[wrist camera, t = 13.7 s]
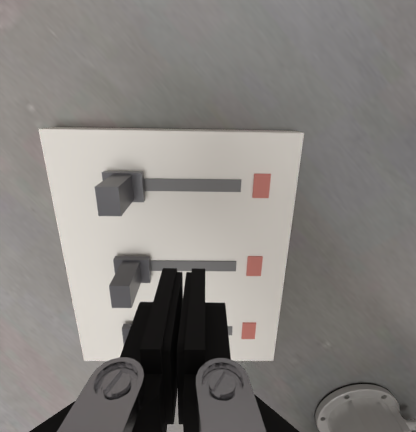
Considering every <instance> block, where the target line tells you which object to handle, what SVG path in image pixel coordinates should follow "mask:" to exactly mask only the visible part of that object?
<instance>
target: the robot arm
mask: <svg viewBox="0 0 416 432" xmlns="http://www.w3.org/2000/svg"><path fill="white" fill-rule="evenodd" d="M177 388H178V415H179V424H183V427H184V432H299V431H298V430H297V429H295V428H294V427H293V426H292V425H291V424H289V423H288V422H287V421H286V420H285V419H283V418H282V417H281V416H280V415H279V414H277V413H276V412H275V411H274V410H273V409H271V408H270V407H269V406H268V405H267V404H265V403H264V402H263V401H262V400H260V399H259V398H258V397H257V396H256V395H254V392H253V389H252V386H251V383H250V380H249V377H248V375H247V373H246V371H245V369H244V368H243V367H242V366H241V365H240V364H238V363H237V362H235V361H233V360H231V356H230V346H229V336H228V326H227V315H226V306H225V303H214V302H205V269H197V268H192V272H186V279H185V286H184V294H183V276H182V272H177V268H163V269H162V273H161V276H160V280H159V283H158V287H157V290H156V294H155V297H154V301H153V302H140V303H139V305H138V308H137V311H136V313H135V316H134V319H133V322H132V325H131V327H130V330H129V333H128V336H127V339H126V341H125V344H124V347H123V350H122V353H121V355H120V357H119V358H115V359H111V360H109V361H107V362H105V363H103V364H102V365H101V366H100V367H98V368H97V369H96V370H95V371H94V373H93V374H92V375H91V377H90V378H89V380H88V382H87V383H86V385H85V387H84V388H83V390H82V391H81V393H80V395H79V396H78V398H77V400H76V401H74V402H73V403H71V404H70V405H68V406H67V407H65V408H64V409H62V410H61V411H60V412H58V413H57V414H55V415H54V416H52V417H51V418H49V419H48V420H46V421H45V422H43V423H42V424H40V425H39V426H37V427H36V428H34V429H33V430H31V431H30V432H166V430H167V424H174V417H175V407H176V398H177ZM315 420H316V424H317V427H318V429H319V431H320V432H416V419H410V420H405V419H404V418H402V416H401V415H400V407H399V404H398V402H397V400H396V399H395V397H394V396H393V395H392V394H391V393H390V392H389V391H388V390H386V389H384V388H383V387H380V386H376V385H371V384H357V385H350V386H347V387H343V388H341V389H338V390H336V391H334V392H333V393H331V394H329V395H328V396H327V397H326V398H324V400H323V401H322V402H321V403H320V404H319V406H318V408H317V410H316V413H315Z"/></svg>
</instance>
